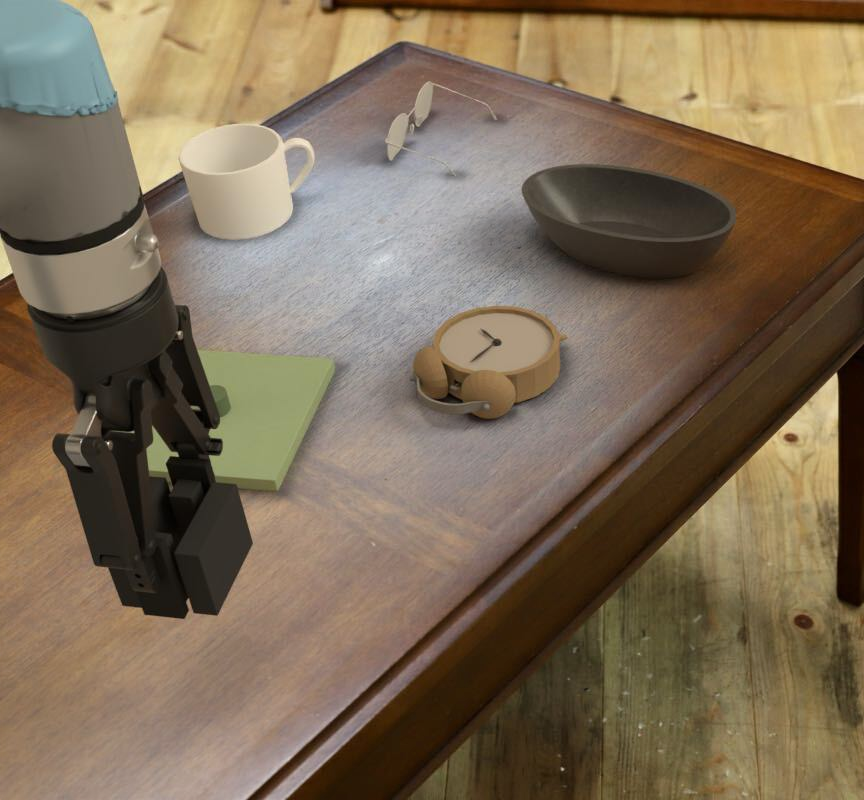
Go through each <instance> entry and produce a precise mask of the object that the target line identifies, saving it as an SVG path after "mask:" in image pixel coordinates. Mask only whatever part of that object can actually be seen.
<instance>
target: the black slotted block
mask: <svg viewBox="0 0 864 800" xmlns="http://www.w3.org/2000/svg"><path fill="white" fill-rule="evenodd" d="M149 478H150V487H151V497H152V506H153V516H154V525H155V535H156V538H165V539H166V542H167V545H168V548H169V551H170V554H171V558H172V561H173V564H174V567H175V570H176V573H177V576H178V579H179V582H180V585H181V588H182V591H183V594H184V597H185V600H186V603H187V602H188V601H189V604H190V606H191V610H192V613H193V614H197V615H206V616H216V617H217V616H218V615H219V614H220V612H221V610H222V607H223V606H224V603H225V601H226V599H227V598H228V596H229V594H230V591H231V589H232V587H233V585H234V583H235V581H236V579H237V577H238V575H239V573H240V571H241V569H242V567H243V565H244V562H245V560H246V559H247V557H248V555H249V553H250V550H251V549H252V546H253V544H254V542H253V538H252V534H251V531H250V527H249V523H248V520H247V516H246V513H245V509H244V505H243V503H242V498H241V495H240V491H239V488H238V487H237V484H230V483H219V482H213V483H212V485H211V487H210V488H209V490H208V492H207V494H206V496H205V493H204V490H203V487H202V483H201V481H196V480H185V479H178V480H177V482H176V484H175V485H174V487H173V486H172V488H171V489H170V485H169V482H167V479H166V478H164V477H153V476H149ZM107 569H108V571H109V574H110V577H111V580H112V582H113V585H114V588H115V590H116V593H117V596H118V598H119V601H120V604H121V605H122V607H127V608H129V607H130V608H139V609H142V607H141V604H140V601H139V599H138V596H137V593H136V591H134V590H133V589H132V588H131V585H130V581H129V579H128V576H127V574H126V571H125V569H117V568H107Z"/></svg>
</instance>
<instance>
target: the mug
mask: <svg viewBox="0 0 864 800" xmlns="http://www.w3.org/2000/svg"><path fill="white" fill-rule="evenodd" d="M293 148H302V149H304V151H305V153H306V158H307V159H306V162H305V165H304V166H303V168H302V169H301V170H300V172H298V174H297V176H296V177H295V178H294V179H293V181H292V182H291V183H290V178H289V173H288V166H287V160H286V159H287V158H286V152H287V151H289V150H291V149H293ZM315 158H316V156H315V151H314V148H313V146H312V144H311V143H310V142H309V141H308V140H307V139H305V138H302V137H292V138H290V139H287V140H285V142H284V141H283V139H282V136H281V135H280V134H279V133H277V131H275V130H274V129H272V128H270V127H268V126H266V125H261V124H256V123H232V124H225V125H220V126H215V127H213V128H210V129H207V130H203V131H202V132H200V133H198V134H196V135H194V136H193V137H191V138H189V140H187V141H186V142H185V143H184V144H183V145H182V147H181V148H180V151H179V153H178V161H179V165H180V168H181V172H182V175H183V178H184V180H185V181H184V182H185V184H186V187H187V191H188V193H189V197H190V200H191V202H192V203H191V204H192V206H193V210H194V212H195V215H196V218H197V221H198V225H199V228H200V229H201V230H202V231H203V232H204V233H205V234H207V235H208V236H211V237H212V238H216V239H221V240H230V241H238V240H248V239H254V238H257V237H261V236H264V235H266V234H269V233H272V232H273V231H275V230H277V229H279V228H280V227H282V226H283V225H284V224H285V223H287V222H288V221H289V219H290V218H291V216H292V214H293V212H294V211H293V210H294V203H293V199H292V198H293V197H292V194H293V193H295V192H297V190H298V189H299V188H300V187H301V185H302V183H303V182H304V181H305V180H306V178H307V177H308V176H309V174H310V173H311V171H312V170H313V168H314V165H315V160H316V159H315Z"/></svg>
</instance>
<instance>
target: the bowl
mask: <svg viewBox="0 0 864 800" xmlns="http://www.w3.org/2000/svg"><path fill="white" fill-rule="evenodd" d="M521 194H522V197H523V199H524V202H525V204H526V206H527V207H528V210H529V211H530V214H531V215H532V217H533V218H534V220H535V221H536V223H537V224H538V225H539V227H540V228H541V230H542V231H543V232H544V233H545V234H546V236H547V237H548V238H549V239H550V240H551V242H553V243H554V244H555V245H556V246H557V247H559V248H560V249H561V250H562V251H563V252H564V253H565V254H567V256H568V257H570V258H572V259H574V260H576V261H578V262H579V263H581V264H584V265H586V266H589V267H592V268H594V269H598V270H601V271H604V272H608V273H613V274H616V275H622V276H627V277H633V278H643V279H674V278H680V277H681V278H682V277H685V276H688V275H691V274H692V273H695V271H697V270H699V269H700V268H702V267H703V266H705V265H706V264H707V263H708V262H710V261H711V260H712V259H713V258H714V257H715V256H716V255H717V254H718V253H719V251H720V250H721V249H722V247H723V246H724V245H725V244H726V242H727V240H729V239H728V238H729V237H730V235H731V233H732V231H733V228H734V227H735V225H736V222H737V219H738V213H737V210H736V208H735V207H734V205H733V204H732V203H731V202H730V201H729V200H728V199H727V198H725V197H724V196H722V195H721V194H719V193H718V192H716V191H714V190H712V189H710V188H708V187H706V186H703V185H701V184H698V183H695V182H693V181H690V180H688V179H684V178H680V177H678V176H673V175H670V174H665V173H662V172H657V171H653V170H647V169H643V168H642V169H641V168H636V167H629V166H622V165H614V164H613V165H612V164H599V163H598V164H597V163H591V164H590V163H577V164H576V163H575V164H565V165H558V166H553V167H548V168H545V169H541V170H539V171H536V172H535V173H533V174H531V175H530V176H528V177H527V178H526V179H525V181H523V183H522V185H521Z"/></svg>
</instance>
